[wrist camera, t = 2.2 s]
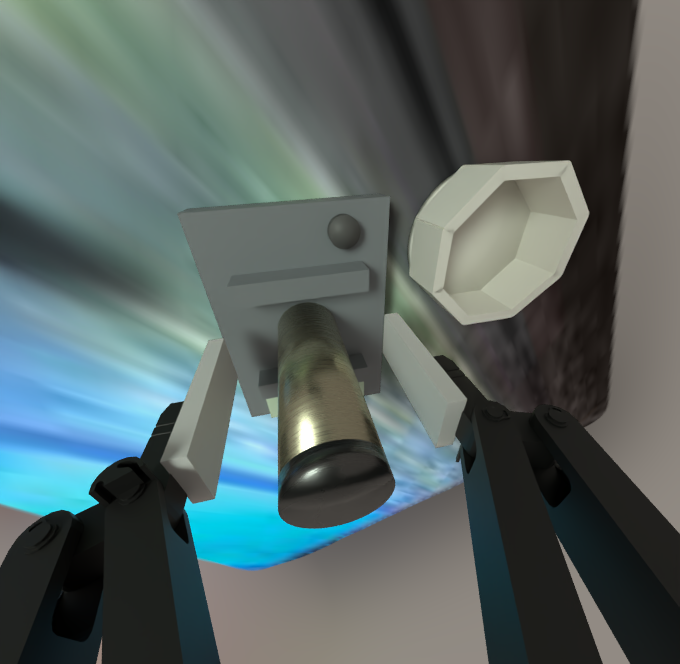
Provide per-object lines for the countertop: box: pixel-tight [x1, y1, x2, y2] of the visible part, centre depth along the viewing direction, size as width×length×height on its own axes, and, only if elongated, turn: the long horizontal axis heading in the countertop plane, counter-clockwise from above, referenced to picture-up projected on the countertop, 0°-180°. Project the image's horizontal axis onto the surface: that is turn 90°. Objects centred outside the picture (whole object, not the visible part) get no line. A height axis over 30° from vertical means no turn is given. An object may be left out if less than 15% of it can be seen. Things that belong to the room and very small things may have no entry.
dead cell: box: [278, 302, 395, 528], centre depth 12 cm, size 4×4×10 cm
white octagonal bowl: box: [407, 161, 589, 325], centre depth 15 cm, size 8×8×4 cm
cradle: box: [177, 194, 390, 418], centre depth 16 cm, size 14×10×3 cm
